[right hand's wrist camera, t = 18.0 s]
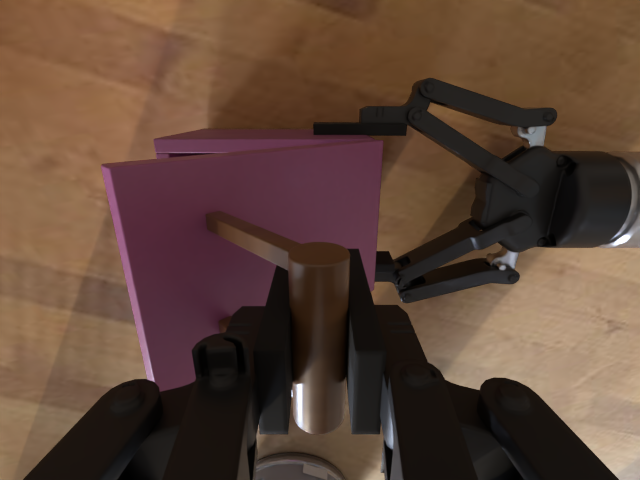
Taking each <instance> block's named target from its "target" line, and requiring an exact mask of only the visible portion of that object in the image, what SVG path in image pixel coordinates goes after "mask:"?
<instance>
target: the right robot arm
mask: <svg viewBox="0 0 640 480" xmlns="http://www.w3.org/2000/svg"><path fill="white" fill-rule="evenodd" d="M347 250H348V251H349V253H350V275H349V303H348V331H347V360H346V379H347V390H348V400H349V410H350V421H351V431H352V434H380V426H381V424H382V429H383V435H384V441H383V452H382V464H381V473H384V474H385V480H619V479H618V478H617V477H616V476H615V475H614V474H613V473H612V472H611V471H610V470H609V469H608V468H607V467H606V466H605V465H604V463H603V462H602V461H601V460H600V459H599V458H598V457H597V456H596V455H595V454H594V453H593V452H592V451H591V450H590V449H589V448H588V447H587V446H586V445H585V444H584V443H583V442H582V440H581V439H580V438H579V437H578V436H577V435H576V434H575V433H574V432H573V431H572V430H571V429H570V428H569V427H568V426H567V425H566V424H565V423H564V422H563V421H562V420H561V418H560V417H559V416H558V415H557V414H556V413H555V412H554V411H553V410H552V409H551V408H550V407H549V406H548V405H547V404H546V403H545V402H544V401H543V400H542V399H541V398H540V397H539V395H537V394H536V393H535V392H534V391H532V390H531V389H530V388H529V387H527V386H525V385H523V384H521V383H519V382H517V381H514V380H510V379H507V378H491V379H488V380H485V382H484V383H483V384H482V385H481V388H480V390H476V389H472V388H468V387H463V386H459V385H456V384H453V383H450V382H448V381H446V380H445V379H444V377H443V375H442V374H441V372H440V370H438V369H437V368H436V367H435V366H433V365H432V364H430V363H428V362H427V359H426V357H425V355H424V352H423V350H422V347H421V345H420V343H419V340H418V338H417V336H416V333H415V331H414V328H413V326H412V325H411V321H410V319H409V317H408V314H407V313H406V312H405V311H404V310H403V309H402V308H400V307H399V306H398V305H374V303H373V299H372V295H371V292H370V288H369V284H368V281H367V277H366V273H365V270H364V266H363V262H362V259H361V255H360V251H359V249H347ZM192 357H193V363H194V369H195V376H196V380H195V381H194V382H192V383H190V384H188V385H185V386H182V387H178V388H174V389H170V390H166V391H161V392H160V389H159V387H158V385H157V384H156V383H155V382H154V381H150V380H147V379H135V380H131V381H128V382H124V383H122V384H120V385H118V386H116V387H114V388H112V389H111V390H109V391H108V392H107V393H106V394H104V395H103V396H102V397H101V398H100V399H99V400H98V401H97V402H96V403H95V404H94V405H93V407H92V408H91V409H90V410H89V411H88V412H87V413H86V414H85V415H84V416H83V417H82V418H81V419H80V420H79V421H78V422H77V423H76V424H75V425H74V427H73V428H72V429H71V430H70V431H69V432H68V433H67V434H66V435H65V436H64V437H63V438H62V439H61V440H60V441H59V442H58V443H57V444H56V445H55V447H54V448H53V449H52V450H51V451H50V452H49V453H48V454H47V455H46V456H45V457H44V458H43V459H42V460H41V461H40V462H39V463H38V464H37V465H36V467H35V468H34V469H33V470H32V471H31V472H30V473H29V474H28V475H27V476H26V477H25V478H24V479H23V480H255V475H256V463H257V441H256V435H257V429H258V424H259V430H260V434H288V428H289V418H290V407H291V397H292V387H293V367H292V338H291V308H290V305H289V275H288V270H286V269H284V268H282V267H280V266H278V265H276V269H275V272H274V276H273V280H272V283H271V287H270V291H269V294H268V298H267V302H266V305H265V306H242V307H241V308H240V309H238V310H237V311H236V312H235V313H234V314H233V315H232V317H231V320H230V322H229V326H228V327H227V329H226V332H223V333H217V334H213V335H210V336H208V337H205V338H203V339H202V340H201V341H199V342H198V343H197V344H196V345H195V346H194V348H193V349H192Z"/></svg>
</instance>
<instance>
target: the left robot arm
mask: <svg viewBox="0 0 640 480" xmlns="http://www.w3.org/2000/svg"><path fill="white" fill-rule="evenodd" d="M430 102H431V103H434V104H437V105H441V106H444V107H447V108H450V109H453V110H456V111H459V112H462V113H465V114H468V115H471V116H474V117H477V118H480V119H483V120H486V121H489V122H492V123H496V124H499V125H507V126H511V132H512V134H513V135H514V136H516V137H520V138H521V139H522V140H523V146H521V147H519V148H518V149H516V150H515V151H513V152H512V153H510V154H509V155H507V156H505V157H504V158H502V159H500V158H499V157H497V156H495V155H493V154H491V153H489V152H488V151H486V150H485V149H483V148H482V147H480V146H479V145H477V144H476V143H474V142H473V141H471V140H470V139H468V138H467V137H465V136H464V135H462V134H461V133H459V132H458V131H456V130H455V129H453V128H452V127H450V126H449V125H447V124H446V123H444V122H443V121H441V120H440V119H438V118H437V117H435V116H433V115H432V114H430V113H429V112H427V108H428V106H429V104H430ZM556 118H557V112H556V110H555V109H553V108H520V107H517V106H514V105H511V104H508V103H505V102H502V101H499V100H496V99H493V98H490V97H487V96H484V95H481V94H478V93H475V92H472V91H469V90H466V89H463V88H460V87H457V86H454V85H451V84H448V83H445V82H442V81H439V80H436V79H433V78H427V79H424V80H420V81H417V82H416V83H414V85H413V87H412V92H411V95H410V97H409V99H408V101H407V102H406V103H405V104H404V105H402V106H366V107H364V108H361V109H360V110H359V123H353V122H314V124H313V135H378V136H406V130H407V125H409V126H411V127H412V128H414V129H415V130H417V131H418V132H420V133H421V134H423V135H425V136H426V137H428V138H429V139H431V140H432V141H434V142H435V143H437V144H439V145H440V146H442V147H443V148H445V149H446V150H448V151H449V152H451V153H452V154H454V155H456V156H457V157H459V158H460V159H462V160H463V161H465V162H466V163H468V164H469V165H470V166H472V167H473V168H475V169H476V170H478V171H479V172H481V173H482V174H481V176H480V177H479V178H476V183H475V194H476V198H475V200H474V202H473V205H472V208H471V214H470V215H471V216H472V217H471V218H470V219H468V220H466V221H464V222H462V223H460V224H459V226H458V227H457V228H456V229H454V230H452V231H450V232H448V233H446V234H444V235H442V236H440V237H438V238H436V239H434V240H432V241H430V242H428V243H426V244H424V245H422V246H420V247H418V248H416V249H414V250H412V251H410V252H408V253H406V254H404V255H402V256H400V257H398V258H396V259H394V260H393V259H392V257H391V255H390V253H389V251H376V264H375V280H374V282H392V283H394V284H395V287H396V290H397V292H398V294H399V297H400V299H401V301H402V302H404V303H411V302H415V301H419V300H423V299H427V298H431V297H435V296H439V295H443V294H447V293H451V292H455V291H460V290H464V289H468V288H472V287H476V286H480V285H484V284H488V283H500V284H514V283H516V282H517V281H518V280H519V277H520V275H519V273H518V272H517V271H515V270H514V269H515V265H516V262H517V258H518V255H519V252H523V251H525V250H527V249H530V248H533V247H548V248H593V247H600V248H640V152H607V153H606V152H600V151H551V150H549V149H547V148H546V147H544V140H545V133H546V127H547V126H549V125H551V124H553V123H554V122H555V120H556ZM480 230H482V231H480ZM497 242H498V243H499V244H500V245H502V246H503V247H502V249H501V250H500V251H499V252H497V253H493V254H491V253H489V254H487V256H486V258H478V259H472V260H468V261H464V262H460V263H456V264H452V265H448V266H444V267H440V266H442V265H444V264H446V263H448V262H450V261H452V260H454V259H456V258H458V257H460V256H462V255H464V254H466V253H468V252H471V251H473V250H481V249H484V248H486V247H488V246H491V245H493V244H495V243H497ZM438 267H440V268H438ZM255 480H345V478H344V477H343V475H342V474H341V472H340V471H339V470H338V469H337V468H336V467H334V466H333V465H332V464H330V463H329V462H327V461H325V460H323V459H320V458H318V457H315V456H311V455H307V454H301V453H282V454H276V455H272V456H268V457H265V458H263V459H261V460H259V461H257V463H256V475H255Z"/></svg>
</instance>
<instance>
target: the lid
mask: <svg viewBox="0 0 640 480" xmlns="http://www.w3.org/2000/svg"><path fill="white" fill-rule="evenodd" d="M382 155H383V141H382V140H372V139H368V140H357V141H346V142H335V143H325V144H314V145H303V146H292V147H281V148H270V149H259V150H248V151H238V152H227V153H216V154H205V155H194V156H183V157H172V158H161V159H151V160H140V161H129V162H118V163H107V164H102V165H101V169H102V173H103V178H104V182H105V187H106V191H107V196H108V201H109V205H110V210H111V214H112V219H113V223H114V228H115V233H116V237H117V242H118V246H119V251H120V255H121V260H122V265H123V269H124V274H125V278H126V283H127V287H128V292H129V297H130V301H131V306H132V310H133V315H134V319H135V324H136V328H137V333H138V338H139V342H140V347H141V351H142V356H143V360H144V365H145V370H146V374H147V379H148V380H150V381H154V382H155V383H156V384H157V385H158V387H159V389H160V392H161V391H166V390H170V389H174V388H178V387H182V386H185V385H188V384H190V383H192V382H194V381H195V380H196V376H195V369H194V363H193V357H192V349H193V348H194V346H195V345H196V344H197V343H198V342H199V341H201V340H202V339H203V338H205V337H208V336H210V335H213V334H217V333H223V332H226V329H227V327H228V326H229V322H230V320H231V317H232V315H233V314H234V313H235V312H236V311H237V310H238V309H240V308H241V307H242V306H265V305H266V302H267V298H268V294H269V291H270V287H271V283H272V280H273V276H274V272H275V269H276V265H278V266H280V267H282V268H284V269H286V270H288V275H289V305H290V308H291V338H292V367H293V387H292V398H293V416H294V420H295V422H296V423H297V425H298V426H299V427H300V428H301V429H302V430H304V431H305V432H307V433H310V434H315V435H323V434H327V433H330V432H332V431H334V430H336V429H337V428H338V427H339V426H340V425H341V423H342V421H343V419H344V415H345V388H346V360H347V331H348V303H349V275H350V253H349V251H348V250H347V249H359V251H360V255H361V259H362V262H363V266H364V270H365V273H366V277H367V281H368V284H369V288H370V292H371V291H373V290H374V280H375V264H376V249H377V233H378V217H379V202H380V186H381V171H382Z"/></svg>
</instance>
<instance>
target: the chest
mask: <svg viewBox="0 0 640 480" xmlns="http://www.w3.org/2000/svg"><path fill="white" fill-rule="evenodd" d="M368 139H372V140H375V139H373V138H372V137H370V136H368V135H313V129H201V130H196V131H191V132H186V133H181V134H176V135H171V136H166V137H161V138H156V139H154V146H155V152H156V157H157V159H161V158H172V157H183V156H194V155H205V154H216V153H227V152H238V151H248V150H259V149H270V148H281V147H292V146H303V145H314V144H325V143H335V142H346V141H357V140H368Z"/></svg>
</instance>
